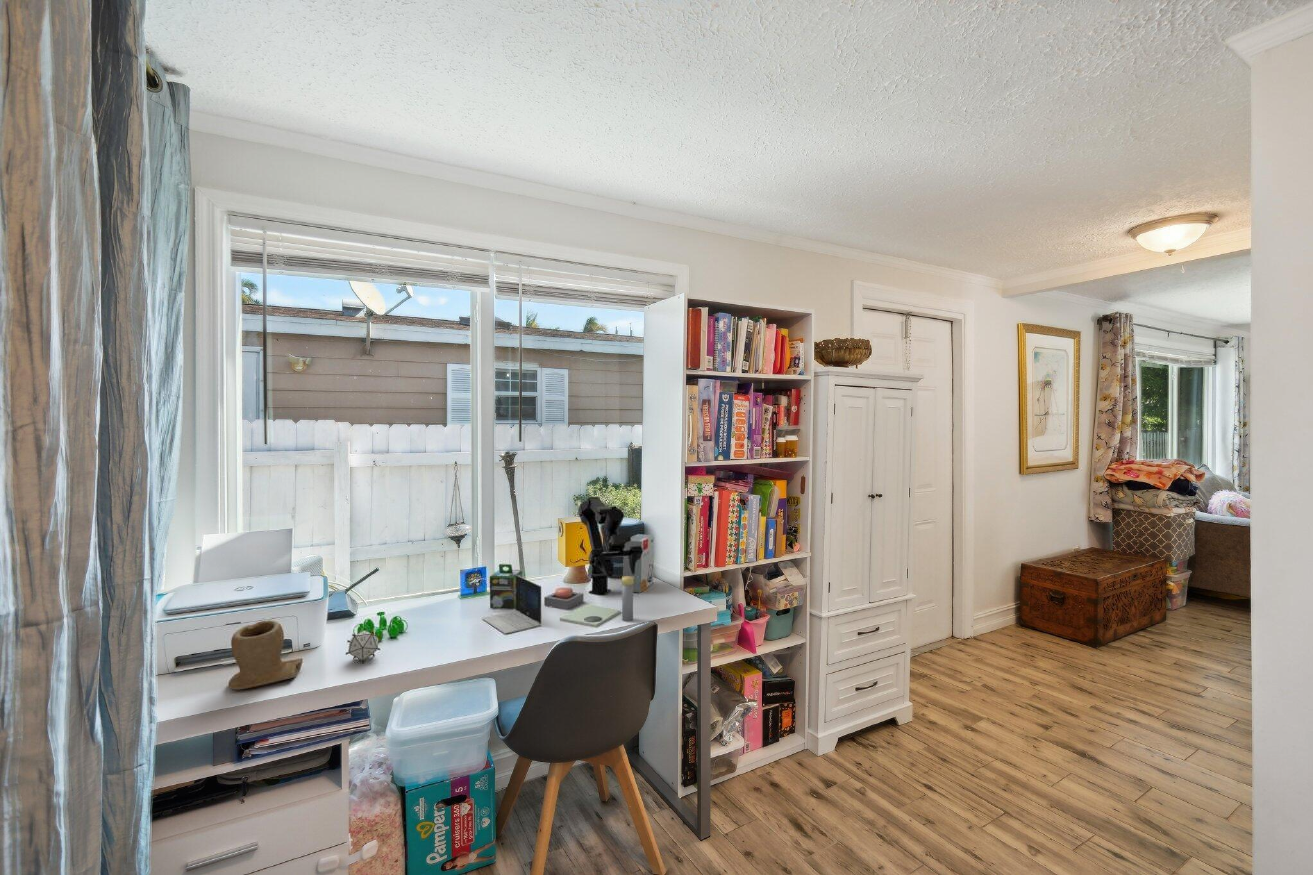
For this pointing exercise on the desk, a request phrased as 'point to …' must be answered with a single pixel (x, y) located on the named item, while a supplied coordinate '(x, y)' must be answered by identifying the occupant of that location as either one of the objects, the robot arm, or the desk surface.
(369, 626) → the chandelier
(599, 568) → the robot arm
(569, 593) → the button
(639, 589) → the hard drive box
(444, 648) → the desk surface
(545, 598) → the button housing
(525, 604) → the laptop
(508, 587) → the chalk box
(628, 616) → the marker
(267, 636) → the stone cup
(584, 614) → the pale green board
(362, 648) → the game die
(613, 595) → the desk surface
